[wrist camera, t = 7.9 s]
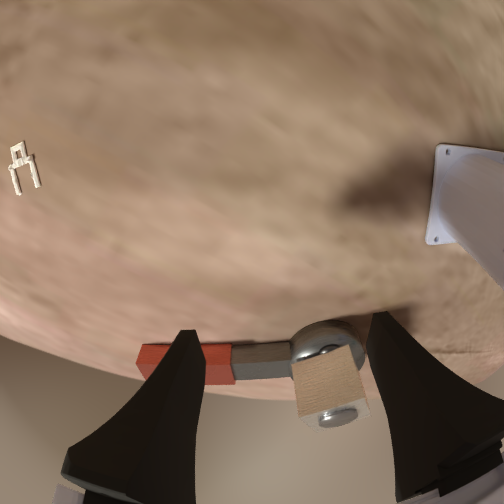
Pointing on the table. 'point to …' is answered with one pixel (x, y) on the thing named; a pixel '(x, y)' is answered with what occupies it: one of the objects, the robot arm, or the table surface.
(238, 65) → the table surface
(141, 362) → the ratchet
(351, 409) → the cube block
